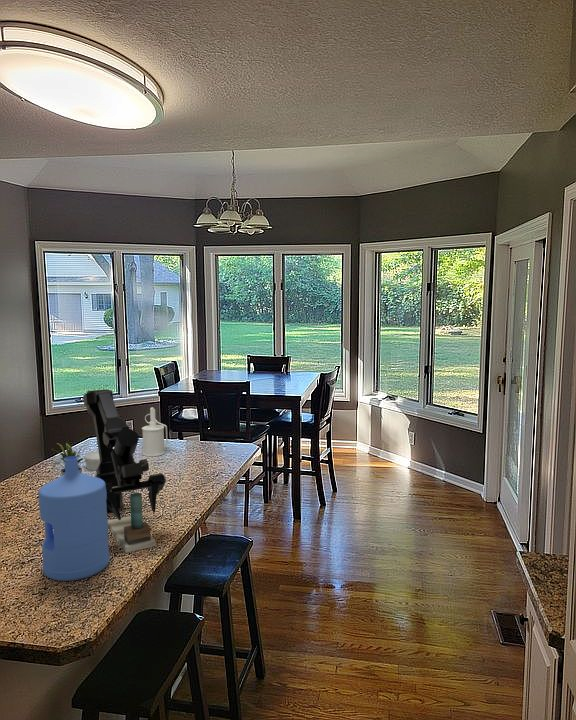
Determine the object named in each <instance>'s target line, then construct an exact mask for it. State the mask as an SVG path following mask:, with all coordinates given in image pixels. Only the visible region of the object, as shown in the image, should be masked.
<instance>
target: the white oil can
mask: <svg viewBox="0 0 576 720" xmlns="http://www.w3.org/2000/svg"><path fill="white" fill-rule="evenodd" d="M149 410H150V411H149V413H148V414H146V415H145V416H144V420H145V422H146V423H147V424H148V425H145V426H143V427H141V430H142V446H143V447H142V448H143V452H142V455H143V456H145V457H150V458H151V457H159V456H163V455H165V454H166V451H165V439H166V445H167V444H168V425H166V424H164V423H161V422H159V421H158V420H157V419H156V409H155V408H154V407H150V408H149ZM147 416H150V417H149V418H150V421H149V422H148V420H147V419H146V418H147Z"/></svg>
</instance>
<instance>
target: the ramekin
mask: <svg viewBox="0 0 576 720" xmlns="http://www.w3.org/2000/svg"><path fill="white" fill-rule="evenodd" d="M83 458H84V459H83V460H84V461H85V466H86V469H87V470H88V471H91V472H93V471H94V472H96V470H97V468H98V466H99V463H100V457H99V451H98V450H96V451H91V452H88V453H86V454H84V455H83ZM86 460H87V461H86Z"/></svg>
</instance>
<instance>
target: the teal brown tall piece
mask: <svg viewBox="0 0 576 720" xmlns="http://www.w3.org/2000/svg"><path fill="white" fill-rule="evenodd" d="M142 498H143V495H142V493H140V492H134V493H131V494H129V501H130V504H129V505H130V507H129V508H130V516H131V525H130V526H125V527H124V539H125V541H126V542H127V543H128V545H130V544H134V543H138V542H142V541H147V540H151V536H152V535H151V526H150V525H149V524H148V523H147V522H146V521H143V520H144V519H143V499H142Z"/></svg>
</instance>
